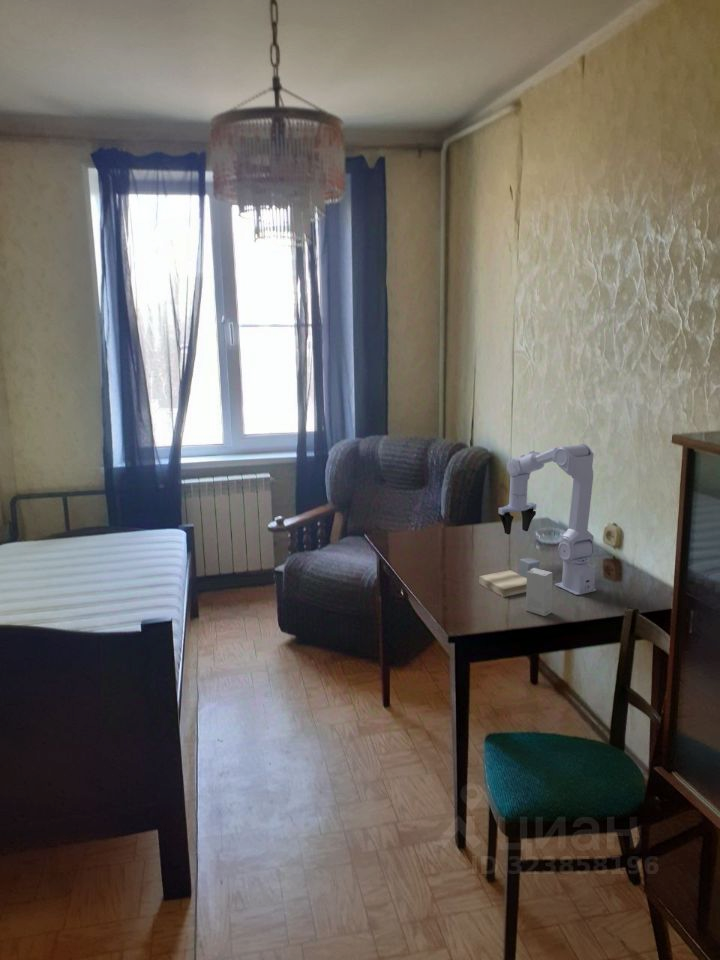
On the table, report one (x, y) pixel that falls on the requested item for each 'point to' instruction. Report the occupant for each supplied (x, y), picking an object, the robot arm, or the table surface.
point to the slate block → (527, 565)
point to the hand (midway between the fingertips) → (516, 532)
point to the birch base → (504, 583)
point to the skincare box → (539, 591)
